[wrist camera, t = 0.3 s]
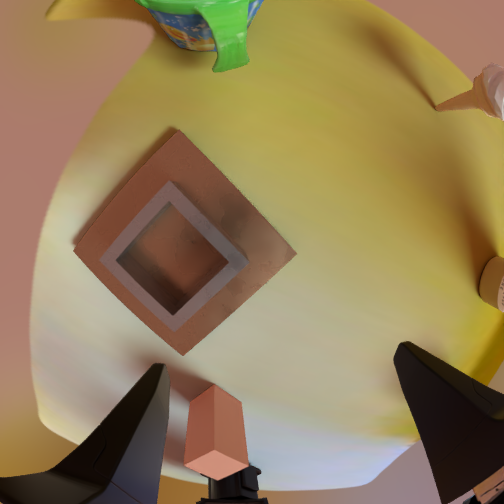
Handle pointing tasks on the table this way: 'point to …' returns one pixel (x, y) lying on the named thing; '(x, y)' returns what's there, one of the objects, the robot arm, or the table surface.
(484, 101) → the ice cream cone
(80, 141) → the table surface
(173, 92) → the table surface
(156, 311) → the square socket base
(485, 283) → the paper tube
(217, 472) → the red post
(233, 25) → the snack cup
